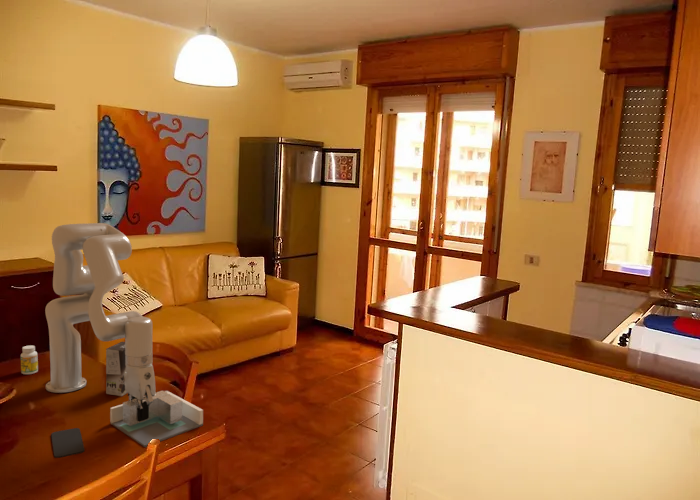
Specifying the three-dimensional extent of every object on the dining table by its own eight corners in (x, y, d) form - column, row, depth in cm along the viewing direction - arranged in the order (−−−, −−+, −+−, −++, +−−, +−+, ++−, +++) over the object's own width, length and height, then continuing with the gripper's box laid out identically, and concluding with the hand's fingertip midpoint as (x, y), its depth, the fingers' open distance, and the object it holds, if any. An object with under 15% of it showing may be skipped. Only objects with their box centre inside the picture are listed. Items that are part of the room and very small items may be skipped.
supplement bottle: (41, 371, 201) (40, 346, 199) (28, 375, 196) (27, 350, 195) (31, 368, 203) (30, 343, 201) (17, 373, 198) (16, 347, 197)
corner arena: (110, 423, 163) (110, 407, 162) (167, 405, 178) (167, 390, 177) (144, 447, 150) (144, 430, 150) (202, 425, 165) (203, 409, 164)
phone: (54, 457, 142) (50, 432, 155) (54, 460, 143) (50, 435, 155) (85, 450, 146) (79, 427, 159) (85, 453, 146) (79, 429, 159)
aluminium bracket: (162, 408, 171) (162, 390, 170) (182, 419, 164) (182, 401, 163) (123, 421, 161) (122, 402, 160) (142, 434, 154) (142, 414, 153)
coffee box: (122, 396, 182) (122, 350, 180) (105, 394, 184) (104, 348, 181) (138, 386, 191) (138, 342, 189) (122, 384, 192) (121, 340, 190)
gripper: (165, 363, 158) (165, 422, 160) (136, 349, 168) (136, 405, 171) (141, 369, 152) (141, 431, 154) (113, 354, 162) (113, 412, 165)
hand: (139, 416), depth 163 cm, fingers closed on aluminium bracket, 4 cm apart
